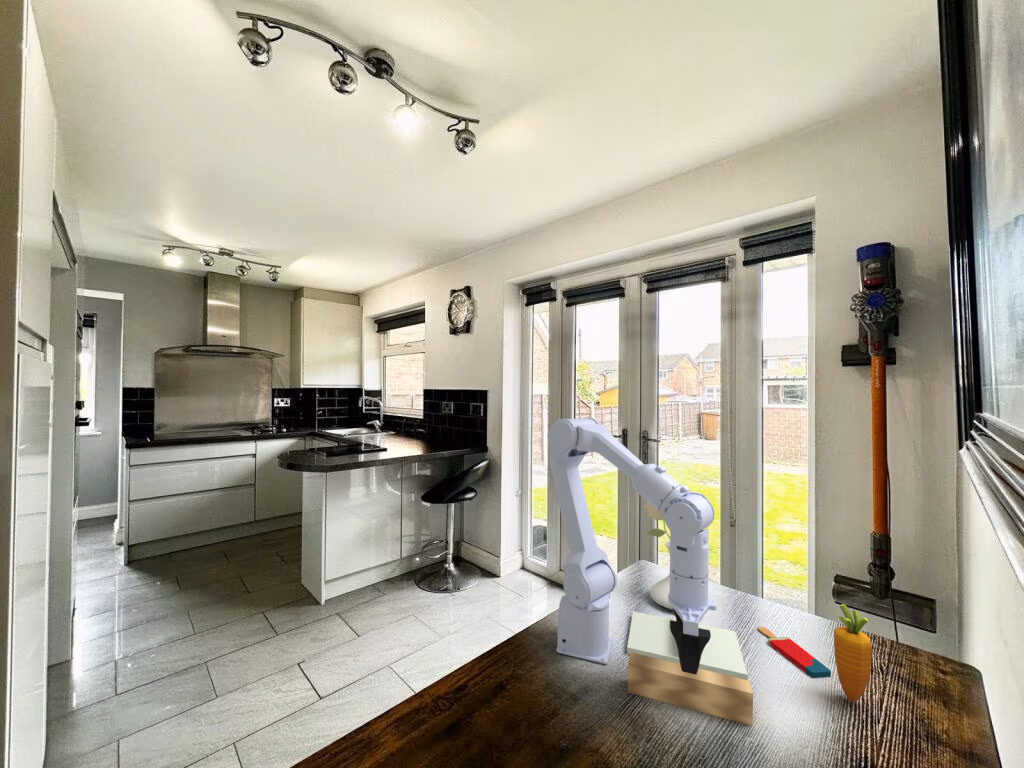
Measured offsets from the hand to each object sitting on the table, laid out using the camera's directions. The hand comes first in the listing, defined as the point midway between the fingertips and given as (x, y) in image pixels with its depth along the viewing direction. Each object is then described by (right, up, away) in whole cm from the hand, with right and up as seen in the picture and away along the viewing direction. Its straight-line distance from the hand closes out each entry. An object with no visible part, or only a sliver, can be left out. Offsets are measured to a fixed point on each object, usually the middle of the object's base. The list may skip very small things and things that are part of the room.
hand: (687, 656), depth 67 cm
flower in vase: (+9, -8, +32) cm, 34 cm away
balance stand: (+5, -8, +15) cm, 17 cm away
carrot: (+27, -8, +1) cm, 28 cm away
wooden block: (0, -7, 0) cm, 7 cm away
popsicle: (+25, -9, +14) cm, 30 cm away
